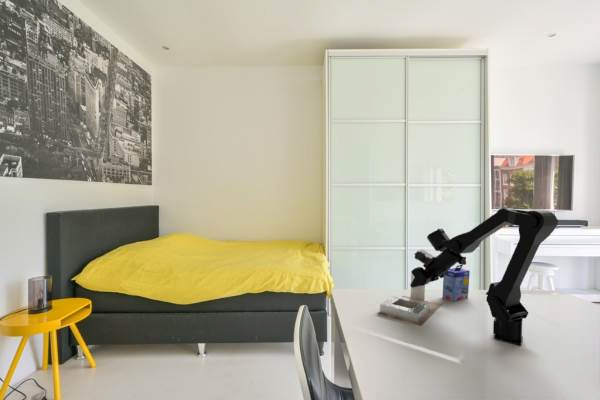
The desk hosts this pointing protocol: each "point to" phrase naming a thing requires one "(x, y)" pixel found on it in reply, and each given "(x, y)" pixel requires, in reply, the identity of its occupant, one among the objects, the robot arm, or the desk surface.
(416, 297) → the white bottle
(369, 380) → the desk surface
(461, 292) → the ink cartridge box
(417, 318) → the grey square frame
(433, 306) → the mount board
